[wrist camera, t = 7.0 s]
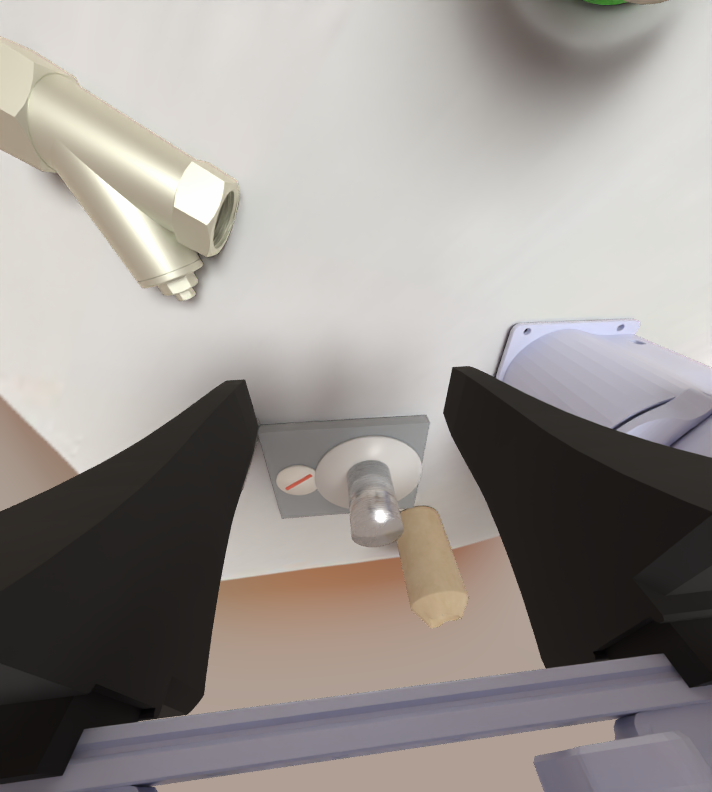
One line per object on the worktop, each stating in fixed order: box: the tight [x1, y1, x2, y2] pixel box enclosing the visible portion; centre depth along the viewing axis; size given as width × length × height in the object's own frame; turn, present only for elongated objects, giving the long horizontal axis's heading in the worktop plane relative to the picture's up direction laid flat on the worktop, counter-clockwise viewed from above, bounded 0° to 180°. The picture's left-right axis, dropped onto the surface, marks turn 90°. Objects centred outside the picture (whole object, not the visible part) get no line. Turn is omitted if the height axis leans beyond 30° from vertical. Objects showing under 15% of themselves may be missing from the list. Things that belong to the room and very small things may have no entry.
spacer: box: [347, 460, 404, 547], centre depth 23 cm, size 4×4×6 cm
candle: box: [397, 506, 469, 628], centre depth 29 cm, size 6×6×10 cm
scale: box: [258, 415, 430, 519], centre depth 26 cm, size 14×12×1 cm
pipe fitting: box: [0, 36, 239, 301], centre depth 13 cm, size 8×4×7 cm
